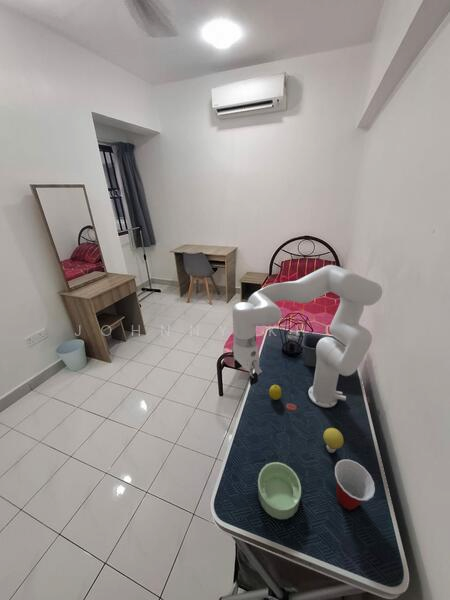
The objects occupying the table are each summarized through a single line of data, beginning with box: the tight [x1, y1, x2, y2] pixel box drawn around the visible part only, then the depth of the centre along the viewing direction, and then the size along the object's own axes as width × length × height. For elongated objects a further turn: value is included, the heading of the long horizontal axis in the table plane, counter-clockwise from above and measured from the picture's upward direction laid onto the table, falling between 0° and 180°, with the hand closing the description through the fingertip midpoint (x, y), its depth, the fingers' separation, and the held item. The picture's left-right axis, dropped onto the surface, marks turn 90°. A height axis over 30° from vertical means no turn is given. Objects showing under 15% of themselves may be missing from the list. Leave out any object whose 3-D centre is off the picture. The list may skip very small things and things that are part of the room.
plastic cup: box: [334, 459, 376, 510], centre depth 73 cm, size 11×11×12 cm
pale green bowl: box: [257, 461, 302, 520], centre depth 76 cm, size 13×13×6 cm
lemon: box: [268, 384, 282, 401], centre depth 110 cm, size 6×6×8 cm
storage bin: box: [301, 332, 346, 368], centre depth 128 cm, size 21×16×14 cm
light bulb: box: [322, 427, 345, 454], centre depth 87 cm, size 7×7×10 cm
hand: (245, 375), depth 89 cm, fingers open, 9 cm apart
